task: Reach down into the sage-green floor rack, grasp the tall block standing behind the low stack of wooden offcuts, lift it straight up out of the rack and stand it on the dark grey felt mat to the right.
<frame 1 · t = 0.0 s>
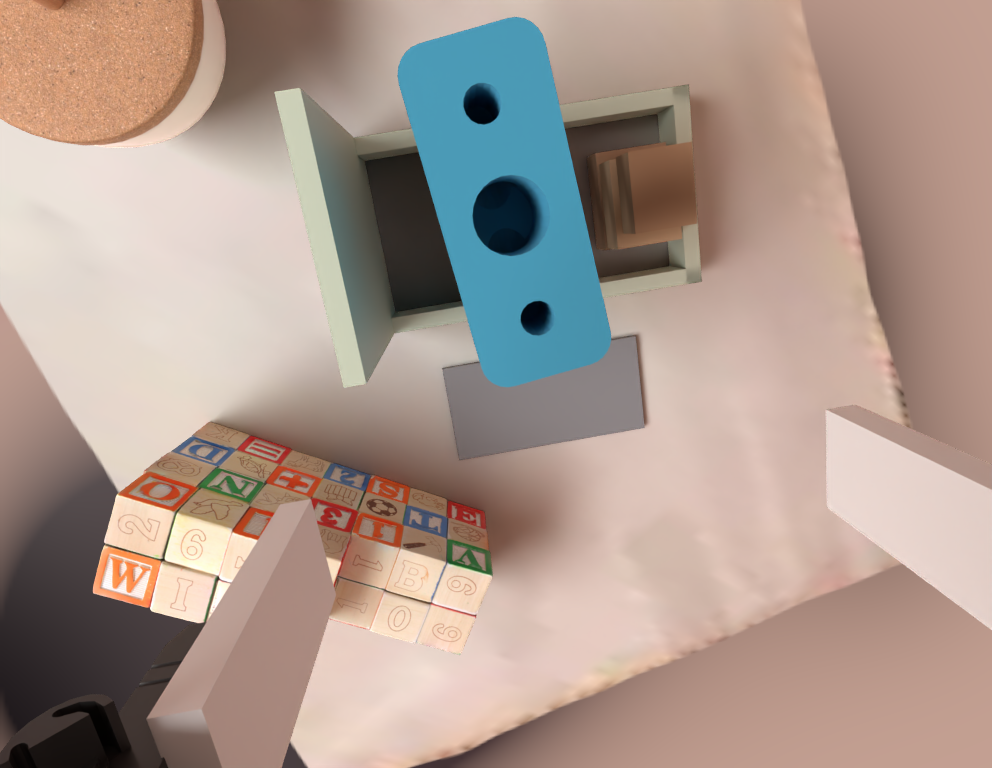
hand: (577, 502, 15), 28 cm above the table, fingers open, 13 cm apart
felt mat: (545, 397, 44), on the table
offcut stack: (624, 198, 40), resting in rack
block: (482, 222, 40), resting in rack
stack of blocks: (340, 501, 45), on the table
rack: (519, 216, 40), on the table
lidded bowl: (151, 54, 36), on the table
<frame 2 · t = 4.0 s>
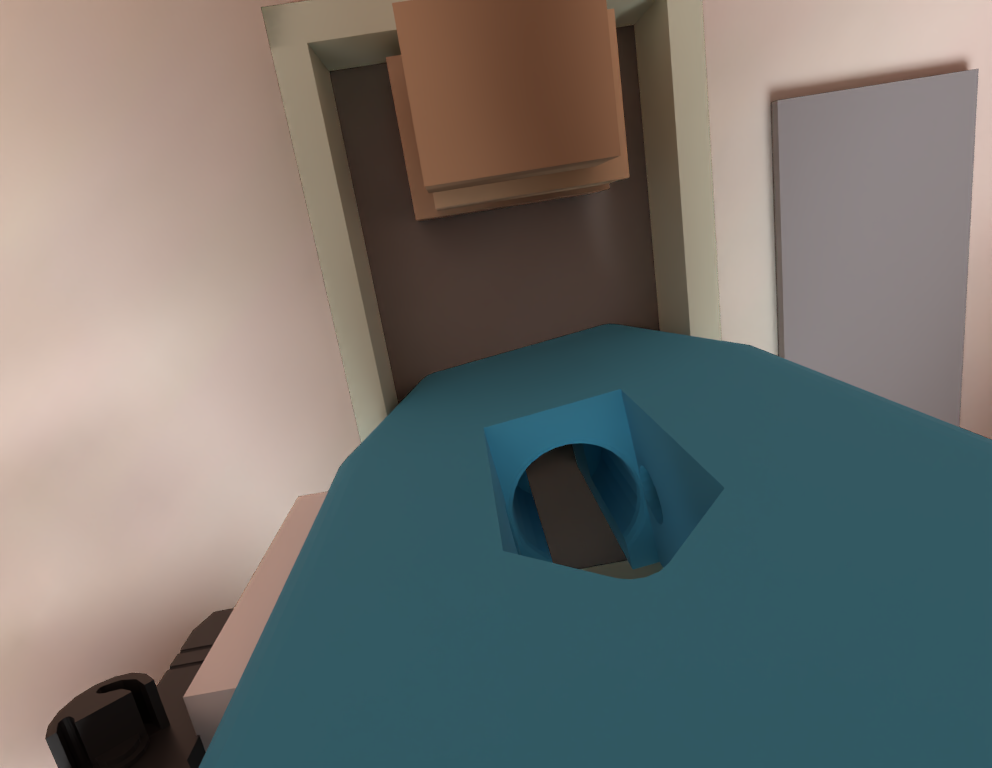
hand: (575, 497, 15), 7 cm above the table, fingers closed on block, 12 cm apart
felt mat: (868, 290, 22), on the table
offcut stack: (495, 138, 20), resting in rack
block: (534, 409, 23), resting in rack, touching gripper
rack: (526, 347, 22), on the table
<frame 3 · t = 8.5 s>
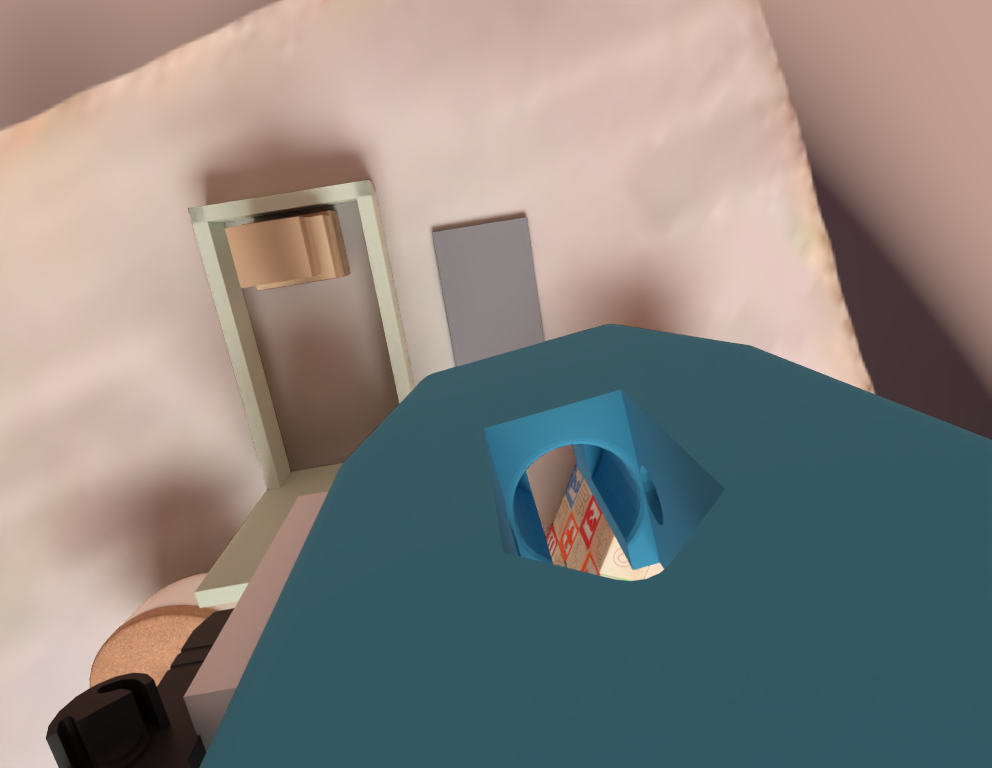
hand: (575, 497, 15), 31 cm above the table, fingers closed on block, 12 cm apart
felt mat: (494, 318, 45), on the table
offcut stack: (302, 249, 43), resting in rack
block: (534, 409, 23), point 24 cm above the table, touching gripper
stack of blocks: (602, 484, 50), on the table
rack: (325, 346, 45), on the table
lidded bowl: (230, 610, 50), on the table
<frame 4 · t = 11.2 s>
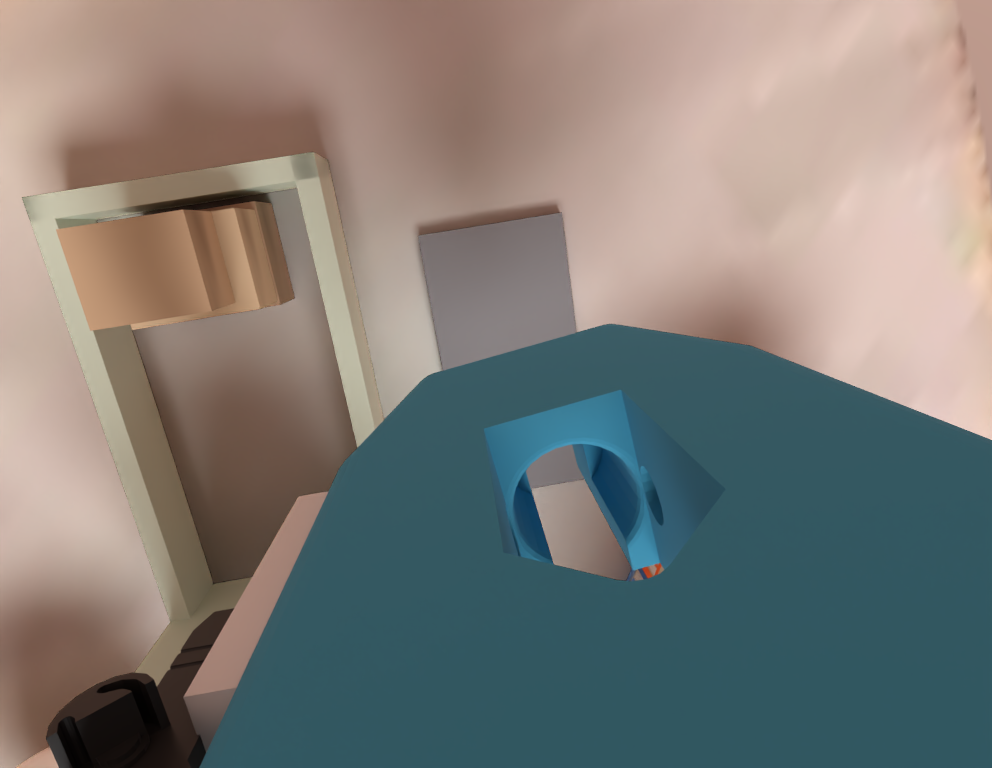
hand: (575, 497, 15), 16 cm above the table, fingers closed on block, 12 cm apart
felt mat: (510, 362, 31), on the table
offcut stack: (220, 262, 28), resting in rack
block: (534, 409, 23), point 8 cm above the table, touching gripper
stack of blocks: (670, 587, 35), on the table
rack: (259, 405, 30), on the table
when the fingers open (8 cm above the table, at t = 13.5 s): block stays where it is, resting on felt mat.
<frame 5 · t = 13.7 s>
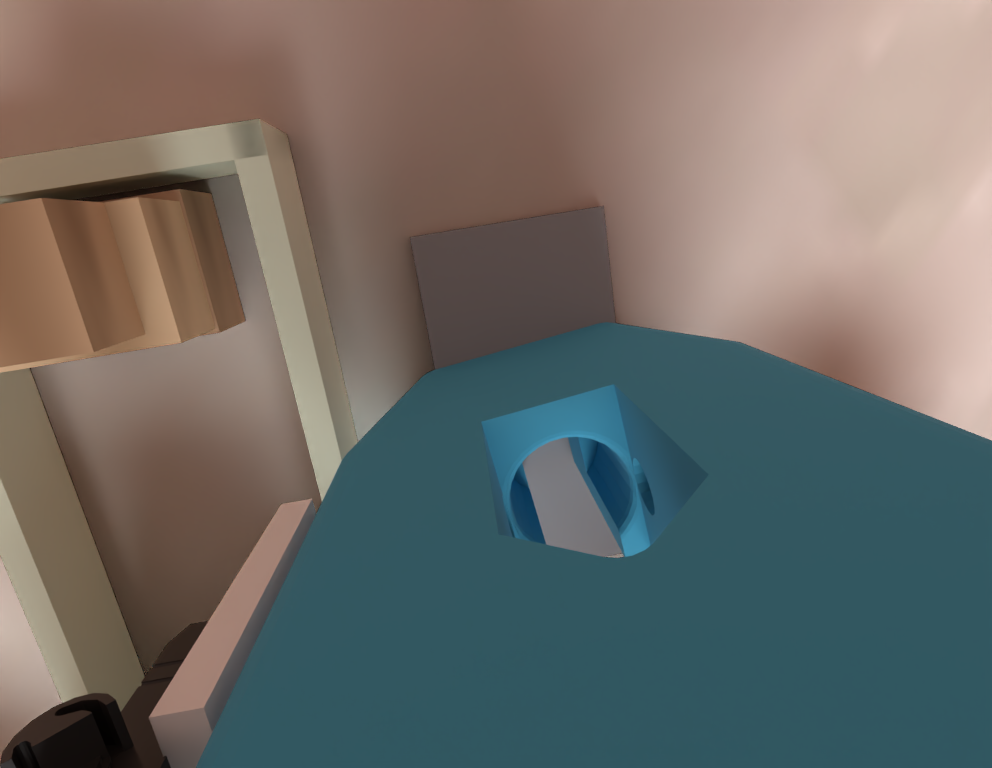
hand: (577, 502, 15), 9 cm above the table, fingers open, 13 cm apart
felt mat: (532, 404, 23), on the table
offcut stack: (144, 272, 21), resting in rack
block: (532, 406, 23), resting on felt mat
rack: (202, 460, 23), on the table
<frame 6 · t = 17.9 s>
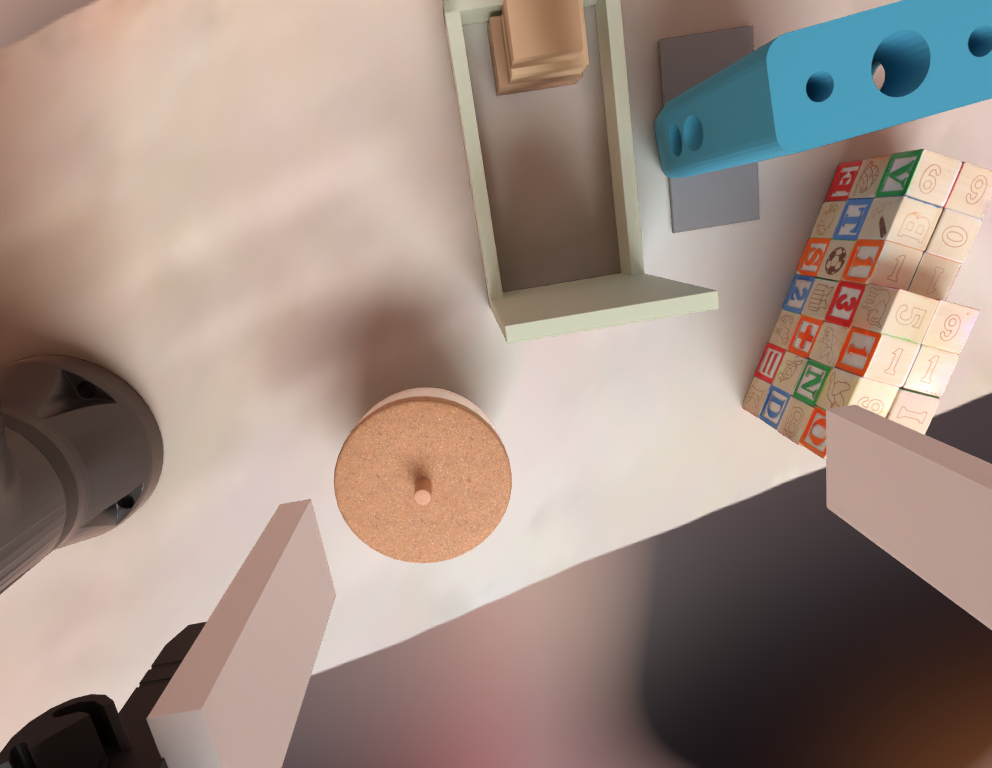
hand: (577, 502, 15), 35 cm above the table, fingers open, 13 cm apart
felt mat: (709, 133, 46), on the table
offcut stack: (532, 56, 44), resting in rack
block: (710, 133, 46), resting on felt mat
stack of blocks: (817, 300, 51), on the table
rack: (545, 160, 46), on the table
lidded bowl: (428, 440, 51), on the table
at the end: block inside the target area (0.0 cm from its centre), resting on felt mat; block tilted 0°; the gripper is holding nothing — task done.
